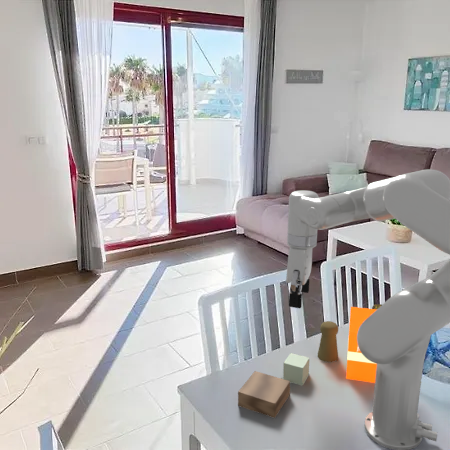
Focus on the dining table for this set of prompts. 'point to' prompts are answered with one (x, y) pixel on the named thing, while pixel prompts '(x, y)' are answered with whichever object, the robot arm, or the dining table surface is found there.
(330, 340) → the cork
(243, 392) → the walnut block
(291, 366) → the sage cube
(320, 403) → the dining table surface
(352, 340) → the orange juice
